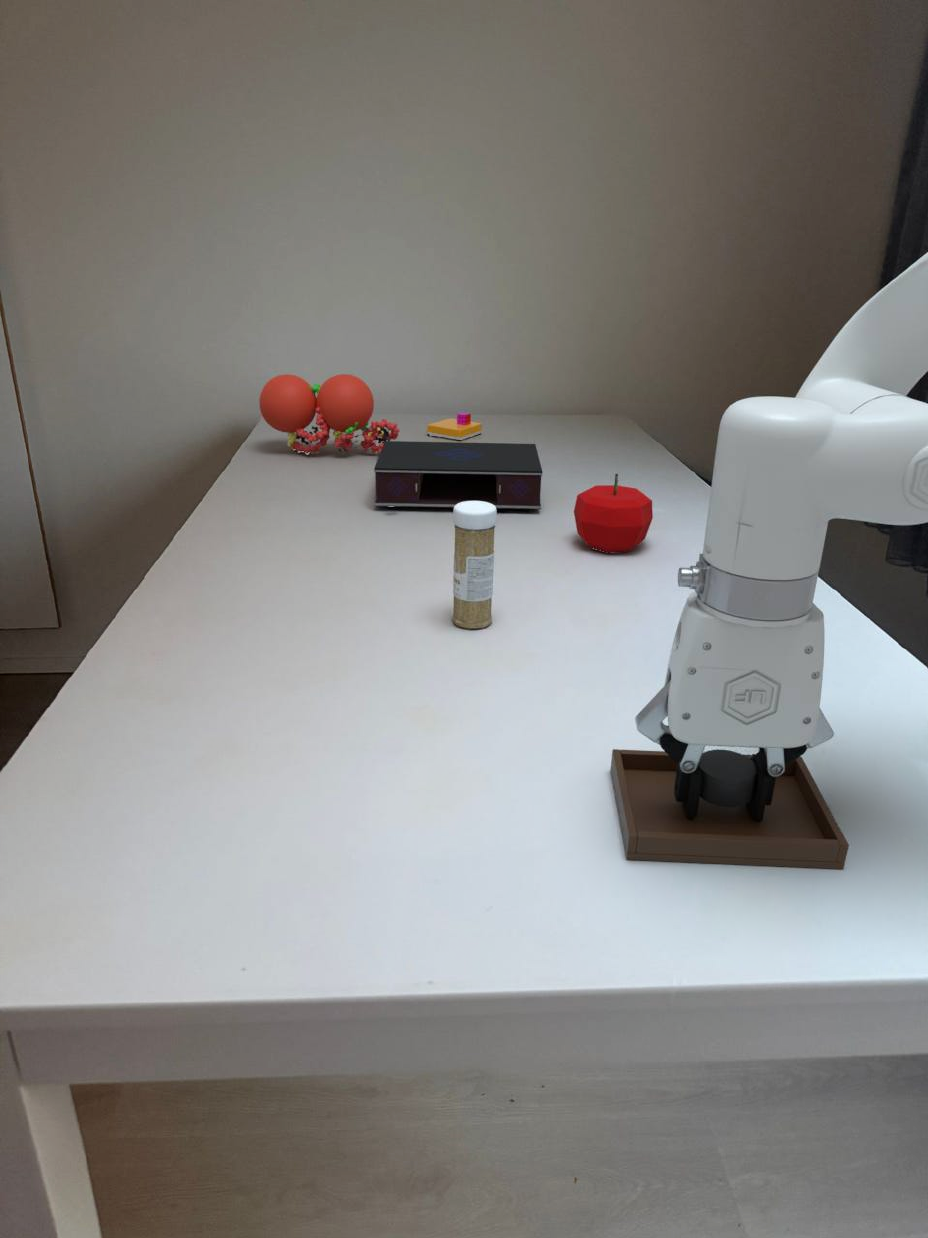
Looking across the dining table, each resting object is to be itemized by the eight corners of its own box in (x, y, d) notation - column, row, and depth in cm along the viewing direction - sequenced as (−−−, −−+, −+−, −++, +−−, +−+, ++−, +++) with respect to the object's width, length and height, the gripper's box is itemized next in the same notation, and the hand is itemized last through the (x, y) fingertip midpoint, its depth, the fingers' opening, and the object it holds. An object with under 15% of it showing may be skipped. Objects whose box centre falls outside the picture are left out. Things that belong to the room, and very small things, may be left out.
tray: (797, 778, 74) (801, 756, 73) (843, 869, 64) (849, 845, 63) (610, 770, 74) (612, 748, 73) (626, 859, 64) (629, 835, 63)
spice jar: (448, 614, 102) (450, 499, 97) (488, 612, 103) (492, 498, 97) (455, 631, 98) (457, 512, 93) (496, 629, 99) (500, 511, 93)
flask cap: (762, 790, 68) (766, 764, 67) (735, 815, 65) (739, 788, 64) (711, 768, 71) (714, 743, 70) (683, 791, 68) (686, 765, 67)
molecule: (256, 461, 161) (249, 372, 158) (271, 461, 172) (265, 378, 169) (396, 455, 160) (391, 365, 157) (402, 455, 171) (398, 371, 168)
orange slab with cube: (460, 441, 179) (460, 419, 177) (427, 435, 183) (427, 414, 181) (481, 434, 185) (482, 413, 183) (449, 428, 189) (449, 408, 187)
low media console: (540, 514, 137) (542, 471, 134) (375, 511, 137) (373, 468, 134) (533, 482, 152) (535, 443, 150) (385, 479, 152) (384, 440, 150)
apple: (575, 530, 130) (580, 461, 126) (650, 536, 128) (657, 467, 124) (567, 555, 121) (572, 482, 117) (648, 562, 119) (656, 488, 115)
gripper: (637, 604, 58) (614, 835, 66) (904, 612, 57) (849, 845, 65) (624, 562, 65) (604, 776, 72) (862, 569, 64) (816, 784, 72)
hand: (720, 807), depth 69 cm, fingers closed on flask cap, 4 cm apart
